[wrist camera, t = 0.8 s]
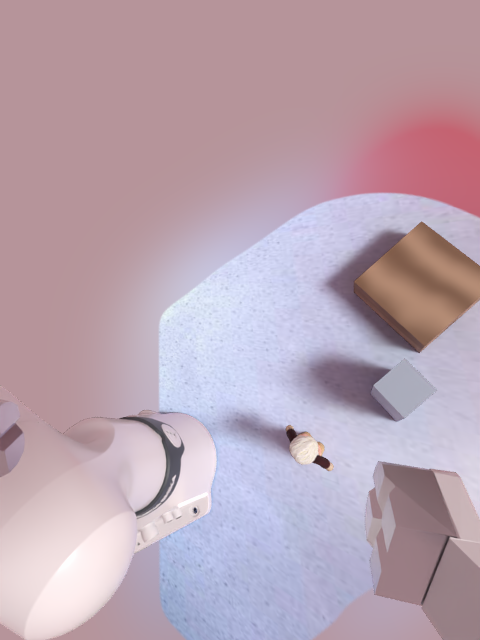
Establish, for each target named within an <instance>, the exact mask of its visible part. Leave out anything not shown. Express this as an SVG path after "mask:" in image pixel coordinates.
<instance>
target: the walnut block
mask: <svg viewBox="0 0 480 640" xmlns="http://www.w3.org/2000/svg"><path fill="white" fill-rule="evenodd" d="M354 293H355V294H356V295H357V296H359V297H360V298H361V299H362V300H363V301H364V302H365V303H366V304H367V305H368V306H369V307H370V308H371V309H373V310H374V311H375V312H376V313H377V314H378V315H379V316H380V317H381V318H382V319H383V320H384V321H385V322H387V323H388V324H389V325H390V326H391V327H392V328H393V329H394V330H395V331H396V332H397V333H398V334H399V335H401V336H402V337H403V338H404V339H405V340H406V341H407V342H408V343H409V344H410V345H411V346H412V347H413V348H415V349H416V350H417V351H418V352H419V353H420V352H421V351H422V350H423V349H424V348H426V347H427V346H428V345H429V344H430V343H431V342H432V341H433V340H435V339H436V338H437V337H438V336H439V335H440V334H441V333H443V332H444V331H445V330H446V329H447V328H448V327H449V326H450V325H452V324H453V323H454V322H455V321H456V320H457V319H458V318H460V317H461V316H462V315H463V314H464V313H465V312H466V311H467V310H469V309H470V308H471V307H472V306H473V305H474V304H475V303H477V302H478V301H479V300H480V266H479V265H478V264H477V263H475V262H474V261H473V260H471V259H470V258H469V257H467V256H466V255H465V254H464V253H462V252H461V251H460V250H458V249H457V248H456V247H454V246H453V245H452V244H451V243H449V242H448V241H447V240H445V239H444V238H443V237H441V236H440V235H439V234H438V233H436V232H435V231H434V230H432V229H431V228H430V227H428V226H427V225H426V224H425V223H423V222H422V221H421V222H420V223H419V224H418V225H417V226H416V227H415V228H414V229H413V230H411V231H410V232H409V233H408V234H407V235H406V236H405V237H404V238H402V239H401V240H400V241H399V242H398V243H397V244H396V245H395V246H393V247H392V248H391V249H390V250H389V251H388V252H387V253H386V254H384V255H383V256H382V257H381V258H380V259H379V260H378V261H377V262H375V263H374V264H373V265H372V266H371V267H370V268H369V269H368V270H366V271H365V272H364V273H363V274H362V275H361V276H360V277H359V278H357V279H356V280H355V281H354Z"/></svg>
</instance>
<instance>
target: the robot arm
mask: <svg viewBox="0 0 480 640" xmlns="http://www.w3.org/2000/svg"><path fill="white" fill-rule="evenodd" d="M216 462H217V458H216V449H215V445H214V442H213V439H212V437H211V435H210V433H209V432H208V430H207V429H206V428H205V426H204V425H203V424H202V423H201V422H199V421H198V420H197V419H195V418H194V417H192V416H189V415H187V414H183V413H167V414H160V413H157V412H154V411H151V410H143V411H141V412H140V413H139V414H138V415H132V416H127V417H123V418H120V419H113V418H102V417H94V418H88V419H85V420H82V421H80V422H78V423H77V424H75V425H73V426H72V427H71V428H69V429H68V430H67V431H66V432H64V433H63V434H62V433H60V432H59V431H57V430H56V429H55V428H53V427H52V426H51V425H50V424H48V423H46V422H44V421H43V420H42V419H41V418H40V417H38V416H37V415H36V414H35V413H33V412H32V411H31V410H30V409H29V408H28V407H27V406H25V405H24V404H23V403H22V402H21V401H19V400H18V399H17V398H16V397H15V396H14V395H12V394H11V393H10V392H9V391H8V390H6V389H5V388H4V387H3V386H1V385H0V624H1V625H3V626H4V627H6V628H8V629H9V630H11V631H12V632H14V633H15V634H17V635H18V636H20V637H22V638H23V639H25V640H48V639H51V638H55V637H58V636H61V635H63V634H65V633H67V632H69V631H72V630H73V629H75V628H77V627H79V626H80V625H81V624H83V623H85V622H86V621H87V620H89V619H90V618H91V617H92V616H94V615H95V614H96V613H97V612H98V611H99V610H100V609H101V608H102V607H103V606H104V605H105V604H106V603H107V602H108V601H109V600H110V598H111V597H112V596H113V594H114V593H115V592H116V590H117V589H118V587H119V585H120V584H121V582H122V581H123V579H124V577H125V575H126V573H127V570H128V568H129V566H130V563H131V560H132V557H133V554H135V553H137V552H139V551H141V550H142V549H144V548H146V547H148V546H150V545H152V544H153V543H155V542H157V541H159V540H161V539H163V538H164V537H166V536H168V535H170V534H172V533H174V532H175V531H177V530H179V529H181V528H183V527H185V526H187V525H188V524H190V523H192V522H194V521H196V520H198V519H199V518H201V517H203V516H205V515H207V514H208V513H209V512H210V509H211V486H212V482H213V479H214V475H215V471H216ZM373 478H374V484H375V488H374V489H372V490H371V491H369V493H368V498H367V502H366V511H365V530H366V538H367V541H368V542H369V544H370V545H371V546H372V547H373V550H372V554H371V557H370V567H371V574H372V581H373V588H374V595H378V596H382V597H386V598H391V599H395V600H399V601H404V602H408V603H412V604H417V605H421V606H422V610H423V611H424V613H425V614H426V616H427V617H428V619H429V620H430V622H431V623H432V625H433V626H434V627H435V629H436V630H437V632H438V633H439V635H440V636H441V638H442V639H443V640H480V519H479V517H478V514H477V512H476V510H475V508H474V506H473V504H472V501H471V499H470V497H469V495H468V493H467V490H466V488H465V486H464V484H463V482H462V479H461V477H460V476H459V475H458V474H457V473H456V472H449V471H442V470H435V469H425V468H418V467H412V466H406V465H399V464H393V463H386V462H380V461H378V463H377V465H376V467H375V470H374V474H373ZM194 507H196V508H197V513H195V512H194Z"/></svg>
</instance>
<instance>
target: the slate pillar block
mask: <svg viewBox="0 0 480 640" xmlns="http://www.w3.org/2000/svg"><path fill="white" fill-rule="evenodd" d="M436 391H437V389H436V388H435V387H434V386H433V385H432V384H431V383H430V382H429V381H428V380H427V379H426V378H424V377H423V376H422V375H421V374H420V373H419V372H418V371H417V370H416V369H415V368H414V367H413V366H412V365H411V364H410V363H409V362H408V361H407V360H406V359H403V360H402V361H401V362H400V363H399V364H398V365H396V366H395V367H394V368H393V369H392V370H391V371H389V372H388V373H387V374H386V375H385V376H384V377H382V378H381V379H380V380H379V381H378V382H377V383H375V384H374V385H373V388H372V391H371V395H372V396H373V397H374V398H375V399H376V400H377V401H378V402H379V403H380V405H381V406H382V407H383V408H384V409H385V410H386V411H387V412H388V413H389V414H390V415H391V416H392V417H393V418H394V420H395V421H396V422H397V421H399V420H402V419H404V418H406V417H407V416H408V415H409V414H410V413H411V412H413V411H414V410H415V409H416V408H417V407H418V406H420V405H421V404H422V403H423V402H424V401H426V400H427V399H428V398H429V397H430V396H431V395H433V394H434V393H435V392H436Z"/></svg>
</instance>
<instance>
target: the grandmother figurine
mask: <svg viewBox="0 0 480 640" xmlns="http://www.w3.org/2000/svg"><path fill="white" fill-rule="evenodd" d="M286 432H287V436H288V438H289V440H290V446H289V450H290V453H291V455H292V457H293V458H294V459H295V461H296V462H298V463H299V464H302V465H304V464H310V463H312V462H313V463H316V464H318V465H320V466H321V467H323V468H324V469H327V470H328V471H332V470H333V464H332V463H330V462H329V460H328V459H326V458H324V457H322V454H323V452H324V445H323V444H322V443H320V442H317V441H315V440H314V438H312V436H311V435H310V434H309V433H308V432H304V433H302V434H300V435H298V436H297V435H296V432H295V431H294V429H293V427H292V426H291V425H288V426H287V427H286Z"/></svg>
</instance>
